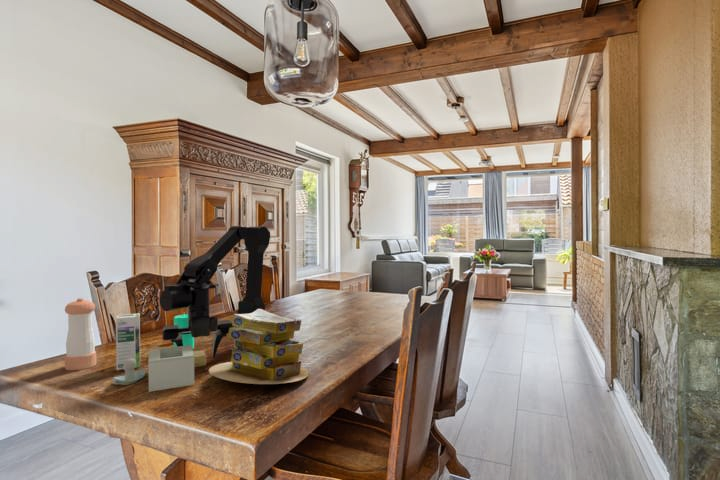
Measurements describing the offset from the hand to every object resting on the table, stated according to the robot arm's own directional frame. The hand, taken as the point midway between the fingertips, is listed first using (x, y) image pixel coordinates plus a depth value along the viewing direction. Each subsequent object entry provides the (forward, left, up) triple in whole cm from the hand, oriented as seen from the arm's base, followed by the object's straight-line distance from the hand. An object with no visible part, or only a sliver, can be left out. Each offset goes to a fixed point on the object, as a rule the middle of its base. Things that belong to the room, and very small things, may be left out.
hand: (199, 359), depth 115 cm
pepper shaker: (+30, -12, -1) cm, 32 cm away
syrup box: (+18, -6, -1) cm, 19 cm away
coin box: (+7, +12, -1) cm, 14 cm away
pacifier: (+17, +8, -1) cm, 19 cm away
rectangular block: (0, 0, -1) cm, 1 cm away
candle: (+3, -18, -1) cm, 18 cm away
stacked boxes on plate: (-13, +20, -1) cm, 24 cm away
